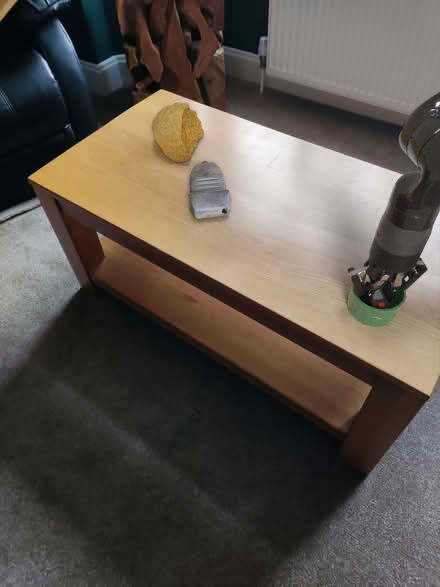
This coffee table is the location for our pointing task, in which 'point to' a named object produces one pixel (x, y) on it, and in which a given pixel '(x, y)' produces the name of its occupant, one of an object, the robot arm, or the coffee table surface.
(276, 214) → the coffee table surface
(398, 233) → the robot arm
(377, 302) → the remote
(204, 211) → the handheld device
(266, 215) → the coffee table surface
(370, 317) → the bowl
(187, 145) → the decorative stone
